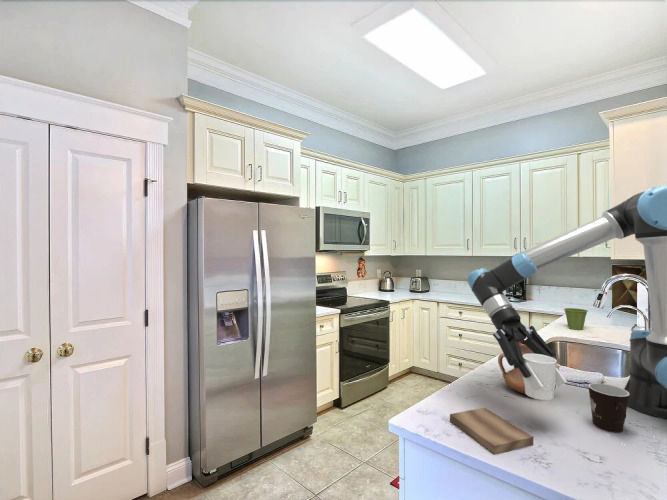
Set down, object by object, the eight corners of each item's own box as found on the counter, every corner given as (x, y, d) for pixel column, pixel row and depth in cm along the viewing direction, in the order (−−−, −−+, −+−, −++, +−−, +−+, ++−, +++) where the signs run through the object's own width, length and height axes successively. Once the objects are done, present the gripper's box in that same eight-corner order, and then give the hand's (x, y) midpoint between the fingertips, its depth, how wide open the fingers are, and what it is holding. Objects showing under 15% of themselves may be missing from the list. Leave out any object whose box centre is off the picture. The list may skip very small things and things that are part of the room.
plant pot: (580, 326, 209) (580, 308, 209) (592, 331, 198) (592, 311, 198) (559, 326, 211) (559, 307, 211) (569, 330, 199) (570, 311, 199)
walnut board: (484, 414, 100) (484, 407, 100) (533, 444, 85) (533, 436, 85) (449, 421, 96) (449, 414, 96) (494, 454, 81) (494, 445, 81)
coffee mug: (588, 415, 100) (589, 380, 100) (628, 425, 94) (629, 388, 94) (585, 431, 91) (586, 394, 91) (629, 444, 85) (630, 403, 85)
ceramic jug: (562, 391, 116) (562, 348, 116) (553, 405, 105) (554, 359, 105) (504, 377, 128) (504, 338, 128) (491, 389, 118) (491, 347, 117)
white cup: (539, 403, 88) (539, 364, 88) (515, 391, 96) (515, 354, 96) (563, 399, 90) (564, 361, 90) (538, 387, 98) (538, 352, 98)
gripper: (520, 317, 111) (569, 387, 96) (468, 322, 104) (512, 398, 89) (534, 303, 106) (589, 374, 91) (481, 308, 99) (529, 385, 84)
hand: (550, 386), depth 90 cm, fingers closed on white cup, 8 cm apart
